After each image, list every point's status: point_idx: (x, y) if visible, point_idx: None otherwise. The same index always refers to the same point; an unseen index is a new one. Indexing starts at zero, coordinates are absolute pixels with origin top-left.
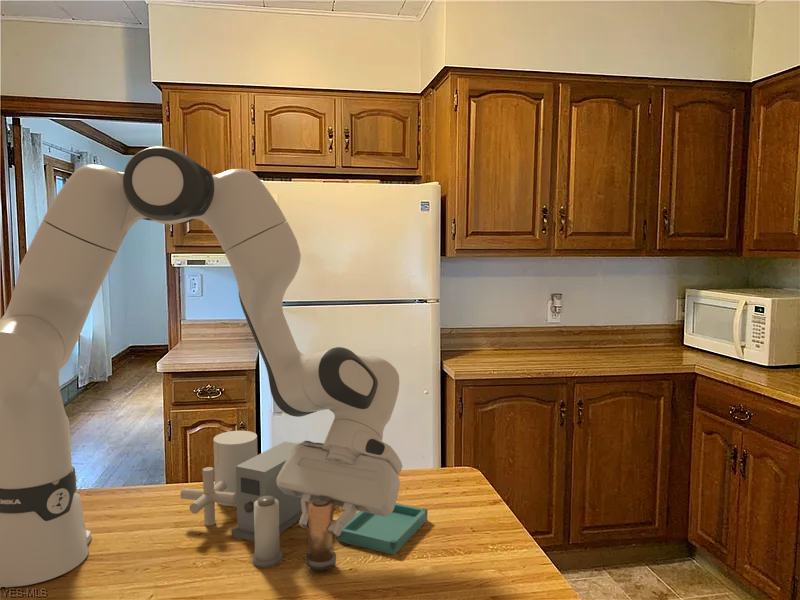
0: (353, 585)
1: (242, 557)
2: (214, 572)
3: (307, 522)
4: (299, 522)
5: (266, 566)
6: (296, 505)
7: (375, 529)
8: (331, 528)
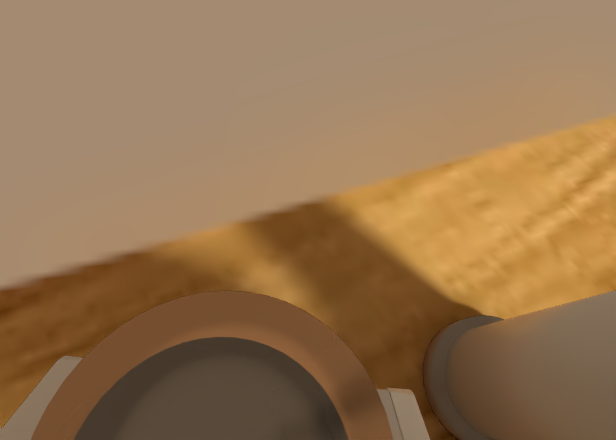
0: (57, 328)
1: None
2: (575, 244)
3: None
4: (405, 389)
5: (450, 324)
6: None
7: None
8: None
